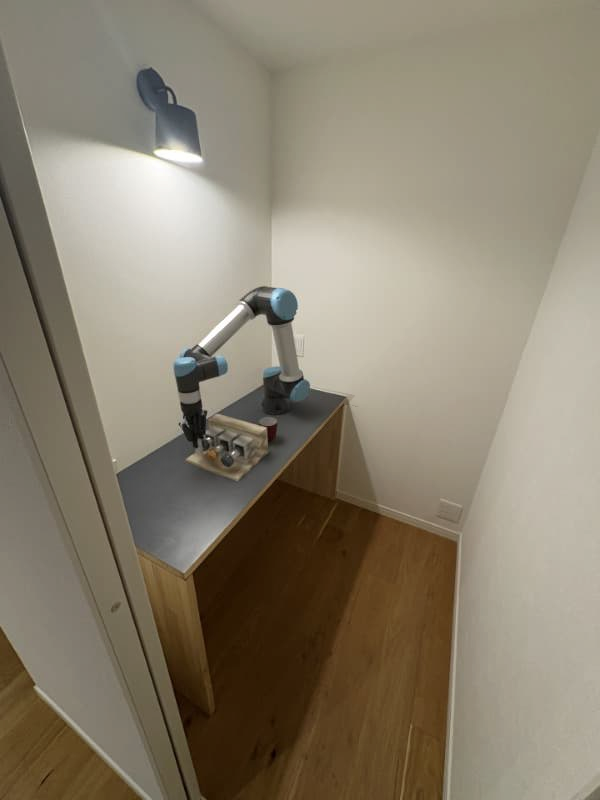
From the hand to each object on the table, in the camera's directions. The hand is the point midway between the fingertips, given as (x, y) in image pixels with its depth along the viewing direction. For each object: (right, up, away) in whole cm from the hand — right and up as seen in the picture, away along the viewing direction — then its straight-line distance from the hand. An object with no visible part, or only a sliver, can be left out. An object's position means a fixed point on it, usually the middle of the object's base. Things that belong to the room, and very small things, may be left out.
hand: (199, 452), depth 125 cm
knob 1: (+3, +2, +5) cm, 6 cm away
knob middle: (+8, -1, -1) cm, 8 cm away
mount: (+10, -3, +5) cm, 12 cm away
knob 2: (+15, -3, -4) cm, 15 cm away
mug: (+25, +2, +16) cm, 30 cm away
